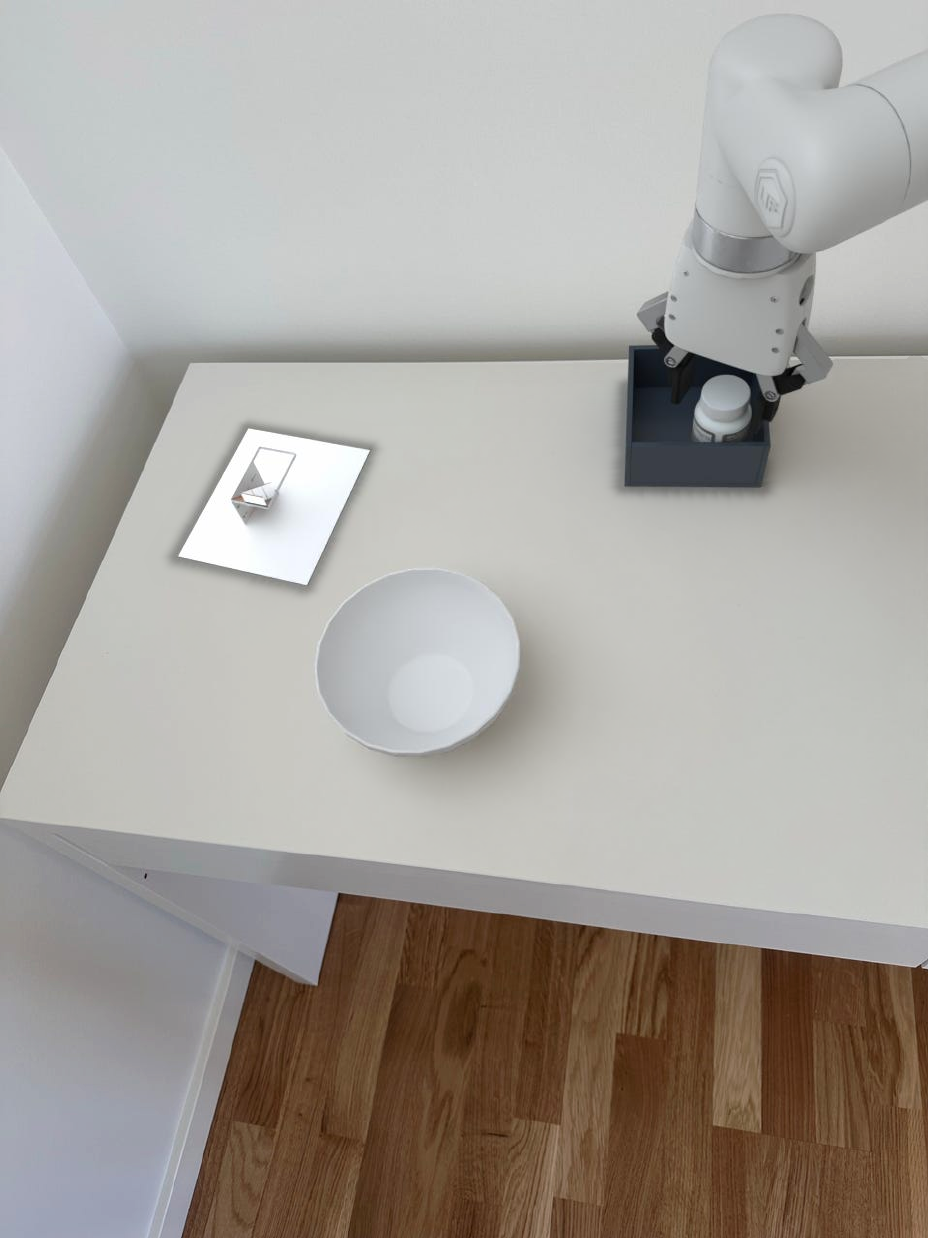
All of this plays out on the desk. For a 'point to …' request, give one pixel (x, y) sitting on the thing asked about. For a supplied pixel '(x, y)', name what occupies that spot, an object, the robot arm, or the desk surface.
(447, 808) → the desk surface
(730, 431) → the pill bottle
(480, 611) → the bowl
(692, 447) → the bin
